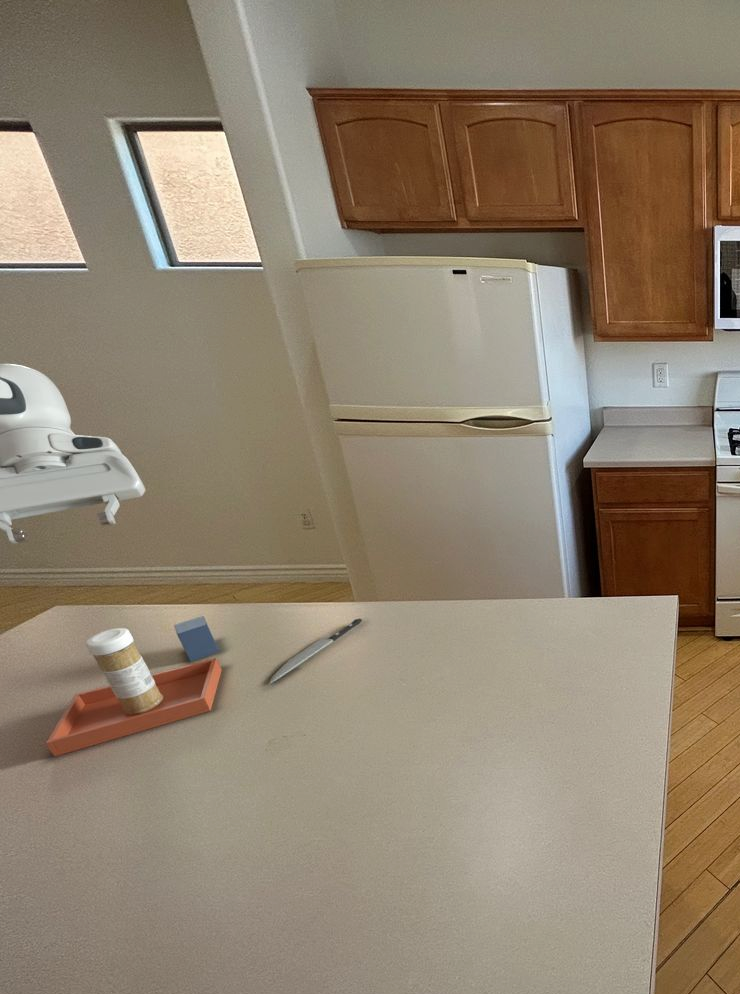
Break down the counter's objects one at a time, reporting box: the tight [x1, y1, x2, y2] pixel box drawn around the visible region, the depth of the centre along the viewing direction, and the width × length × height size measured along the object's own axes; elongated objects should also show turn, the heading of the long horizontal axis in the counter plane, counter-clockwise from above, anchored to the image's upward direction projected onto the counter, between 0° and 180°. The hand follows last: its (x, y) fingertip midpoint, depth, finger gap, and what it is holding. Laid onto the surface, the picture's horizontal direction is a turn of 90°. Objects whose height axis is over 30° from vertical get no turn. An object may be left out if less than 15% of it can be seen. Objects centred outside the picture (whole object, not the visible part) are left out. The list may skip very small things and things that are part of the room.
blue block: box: [173, 615, 220, 663], centre depth 99 cm, size 4×4×6 cm
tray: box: [45, 657, 223, 757], centre depth 87 cm, size 17×12×3 cm
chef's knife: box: [268, 618, 363, 685], centre depth 101 cm, size 19×1×3 cm
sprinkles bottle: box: [85, 627, 163, 715], centre depth 84 cm, size 5×5×14 cm
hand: (65, 532), depth 86 cm, fingers open, 8 cm apart
